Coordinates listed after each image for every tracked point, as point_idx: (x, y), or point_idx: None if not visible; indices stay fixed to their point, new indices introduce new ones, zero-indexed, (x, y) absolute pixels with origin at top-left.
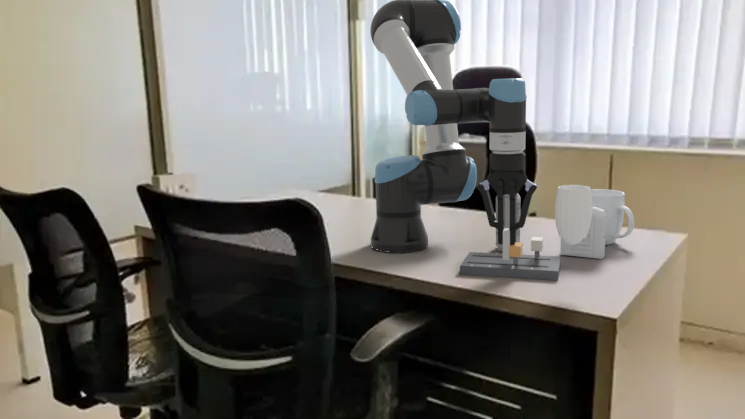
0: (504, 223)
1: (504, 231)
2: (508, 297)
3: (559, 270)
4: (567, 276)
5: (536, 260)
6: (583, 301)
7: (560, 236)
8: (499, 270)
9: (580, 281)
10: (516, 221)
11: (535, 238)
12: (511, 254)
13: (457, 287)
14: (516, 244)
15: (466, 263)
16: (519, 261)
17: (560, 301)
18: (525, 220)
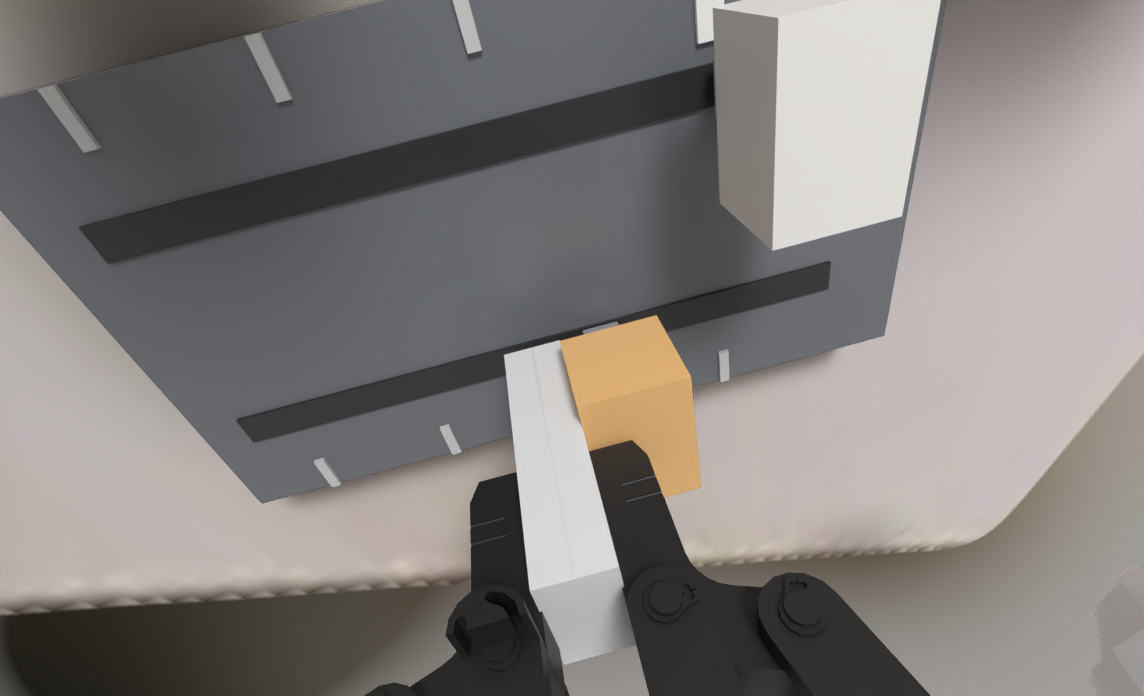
0: (545, 672)
1: (582, 652)
2: None
3: None
4: (912, 204)
5: None
6: (924, 484)
7: (1094, 688)
8: None
9: (970, 265)
10: (729, 657)
11: (823, 131)
12: None
13: (411, 583)
14: (651, 455)
15: (260, 454)
16: (599, 240)
17: (841, 518)
18: (880, 666)
